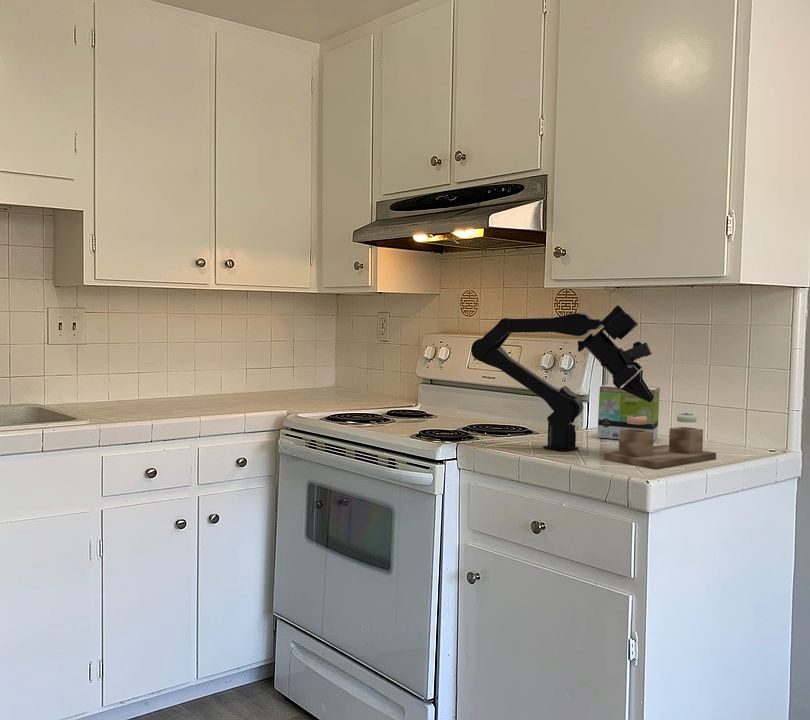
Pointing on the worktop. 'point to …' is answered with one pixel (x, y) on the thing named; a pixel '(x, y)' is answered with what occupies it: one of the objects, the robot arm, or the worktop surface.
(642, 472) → the worktop surface
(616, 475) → the worktop surface
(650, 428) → the tea box
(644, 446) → the console
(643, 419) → the button
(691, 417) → the button
